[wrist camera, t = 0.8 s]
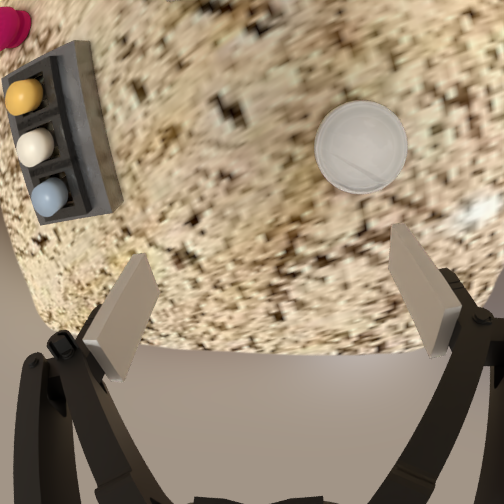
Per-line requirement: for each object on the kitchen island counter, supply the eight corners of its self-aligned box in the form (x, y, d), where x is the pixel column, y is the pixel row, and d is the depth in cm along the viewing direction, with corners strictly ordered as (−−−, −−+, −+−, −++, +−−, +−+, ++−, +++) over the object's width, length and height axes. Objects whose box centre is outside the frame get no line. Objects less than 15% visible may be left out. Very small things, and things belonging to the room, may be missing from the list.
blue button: (53, 171, 39) (27, 188, 33) (76, 165, 38) (50, 182, 33) (62, 199, 41) (37, 219, 36) (84, 194, 41) (60, 214, 35)
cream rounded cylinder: (42, 127, 35) (13, 138, 30) (64, 118, 35) (35, 129, 29) (49, 155, 38) (21, 170, 32) (71, 148, 37) (44, 162, 31)
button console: (18, 75, 33) (-6, 80, 28) (89, 41, 31) (67, 40, 26) (53, 214, 45) (34, 230, 40) (123, 201, 44) (107, 218, 39)
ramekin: (313, 184, 41) (318, 198, 37) (304, 99, 36) (310, 103, 31) (393, 178, 40) (407, 192, 35) (391, 96, 34) (407, 100, 30)
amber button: (33, 82, 32) (2, 88, 26) (55, 71, 31) (25, 75, 26) (38, 110, 34) (8, 120, 28) (61, 100, 34) (31, 109, 28)
